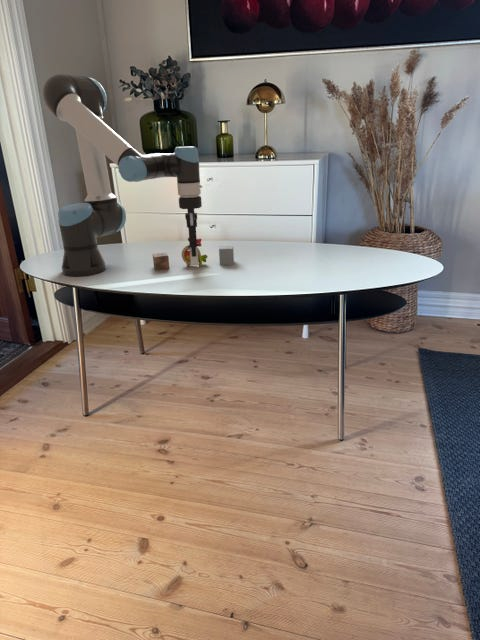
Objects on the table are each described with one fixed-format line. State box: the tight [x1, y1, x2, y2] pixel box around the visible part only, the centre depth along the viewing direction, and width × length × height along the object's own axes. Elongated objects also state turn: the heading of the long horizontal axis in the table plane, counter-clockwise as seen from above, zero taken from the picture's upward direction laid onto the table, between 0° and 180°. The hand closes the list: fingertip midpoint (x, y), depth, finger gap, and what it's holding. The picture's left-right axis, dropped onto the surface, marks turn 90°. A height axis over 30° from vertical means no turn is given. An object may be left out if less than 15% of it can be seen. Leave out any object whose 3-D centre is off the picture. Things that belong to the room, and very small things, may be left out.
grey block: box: [218, 245, 235, 266], centre depth 177 cm, size 5×5×6 cm
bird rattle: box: [181, 237, 208, 268], centre depth 174 cm, size 6×11×9 cm
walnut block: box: [152, 252, 170, 271], centre depth 174 cm, size 5×5×5 cm
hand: (194, 264), depth 168 cm, fingers closed
